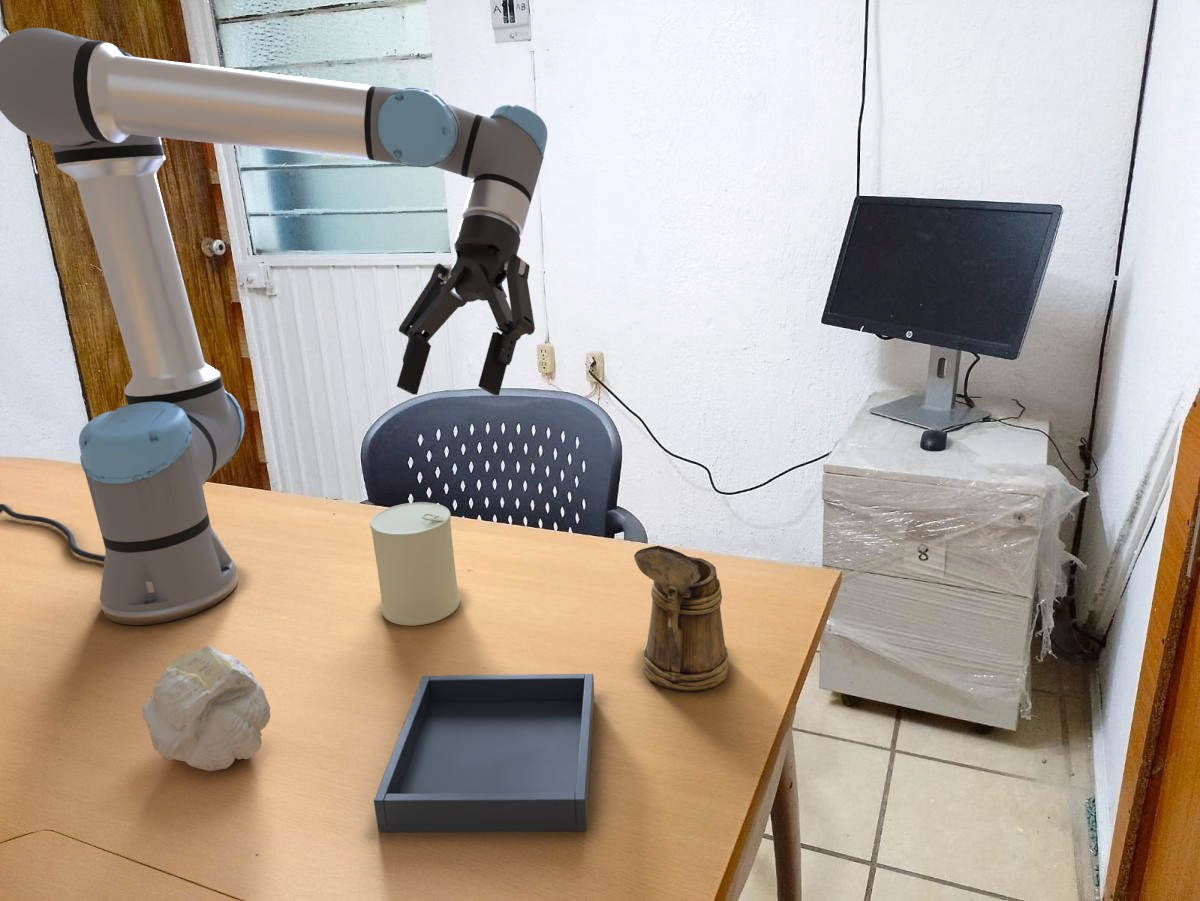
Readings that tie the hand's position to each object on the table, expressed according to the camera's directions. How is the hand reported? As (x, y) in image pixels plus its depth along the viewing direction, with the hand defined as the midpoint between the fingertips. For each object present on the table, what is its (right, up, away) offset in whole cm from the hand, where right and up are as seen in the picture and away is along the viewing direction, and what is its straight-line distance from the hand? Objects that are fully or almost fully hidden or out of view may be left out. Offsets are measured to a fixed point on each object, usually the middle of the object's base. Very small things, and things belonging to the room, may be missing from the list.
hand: (445, 391), depth 96 cm
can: (-3, -26, +3) cm, 26 cm away
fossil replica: (-17, -34, -20) cm, 43 cm away
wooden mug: (+26, -30, -13) cm, 42 cm away
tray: (+9, -34, -23) cm, 42 cm away
